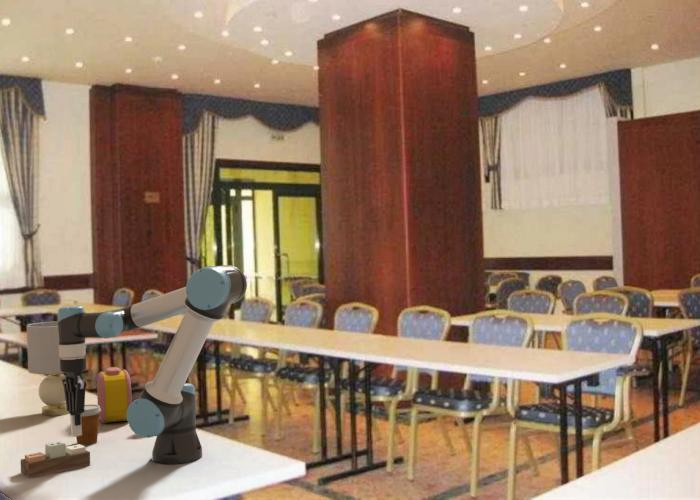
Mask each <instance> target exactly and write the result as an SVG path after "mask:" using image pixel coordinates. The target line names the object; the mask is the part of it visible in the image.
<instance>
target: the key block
mask: <svg viewBox="0 0 700 500" xmlns="http://www.w3.org/2000/svg"><path fill="white" fill-rule="evenodd" d="M88 466H91V453H90V451H88V450H87V449H86V452H83V453H78V454H73V455H69V454H67V453H66V456H63V457H58V458H53V459H49V458H47V457H46V454H45V460H43V461H38V462H33V463H28V462H26V461H25V458H21V459H20V474H22V473H23V474H24V476H25V477H26V478H29V479H31V478H36V477H43V476H46V475H51V474H54V473H56V474H57V473H59V472H63V471H65V472H66V471H69V470H74V469H79V468H85V467H88ZM23 474H22V475H23Z"/></svg>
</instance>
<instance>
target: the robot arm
mask: <svg viewBox="0 0 700 500" xmlns="http://www.w3.org/2000/svg"><path fill="white" fill-rule="evenodd" d="M247 282H248V281H247V277H246V276H245V274H244V272H243V271H242V270H241V269H240V268H238V267H236V266H234V265H229V264H223V265H216V266H214V265H213V266H212V265H208V266H205V267H201V268H199V269H197V270H196V271H194V272H193V273H192V274H191V275H190V277H189V278H188V280H187V283H186V286H184V287H181V288H178V289H175V290H172V291H169V292H166V293H164V294H161V295H158V296H155V297H152V298H149V299H146V300H143V301H140V302H137V303H134V304H131V305H128V306H125V307H122V308H118V309H112V310H105V311H101V312H99V311H98V312H85V310H84V309H85V308H84V306H81V305H71V306H62V307H59V309H58V310H57V320H56V321H57V323H58V331H59V357H60V358H62V359H61V360H60V371H61V372H65V376H66V378H65V379H62V382H63V386H64V393H65V400H66V407H67V411H69V415H70V418H69V419H70V432H71V433H70V436H71V437H76V436H80V435H82V424H81V414H82V413H83V412H84V406H85V405H86V404H85V403H86V388H87V382H86V381H84V380H83V379H84V378H83V374H82V371H85V370H86V369H87V358H86V353H87V352H86V351H87V350H86V349H87V348H88V346H87V344H86V339H87V338H91V339H92V338H93V339H94V338H96V339H97V338H98V339H99V338H100V339H102V338H104V339H109V338H110V339H111V338H117V337H119V336H120V334H124V333H129V332H130V333H131V332H134V331H135V330H138V329H140V328H142V327H147V326H149V325H151V324H154V323H158V322H161V321H164V320H166V319H167V320H168V319H170V318H173V317H177V316H179V315H182V314H184V315H183V317H182V319H181V321H180V323H179V326H178V328H177V330H176V332H175V334H174V336H173V338H172V340H171V343H170V344H169V347H168V349H167V350H166V353H165V355H164V357H163V358H162V361H161V363H160V365H159V367H158V370H157V372H156V374H155V376H154V378H153V380H151V381H148V382H146V383H145V384H144V387H143V389H142V391H141V392H140V395H139V397H138V398H136V399H134V400H132V403H131V404H130V405H129V407H128V409H127V421H126V422H128V426H129V429H131V431H132V432H133V433H134V434H135V435H137V436H139V437H141V438H144V439H150V438H153V437H156V438H155V441H154V445H153V448H152V454H151V457H152V459H151V460H152V461H153V462H154V463H158V464H166V465H170V464H171V465H174V464H175V465H176V464H185V463H190V462H194V461H196V460H199V459H200V458H202V457H203V447H202V445H201V442H200V439H199V435H198V433H197V426H196V425H197V421H196V419H197V417H196V413H197V412H196V390H195V386H194V384H192V383H190V382H189V383H188V382H186V381H187V379H188V377H189V375H190V374H191V371H192V370H193V367H194V365H195V363H196V361H197V359H198V357H199V355H200V353H201V350H202V349H203V346H204V344H205V342H206V340H207V338H208V336H209V334H210V332H211V330H212V327H213V325H214V323H215V322H218V321H221V320H222V319H223V317H224V316H225V313H226V312H227V308H228V307H229V305H232V304H235V303H237V302H239V301H240V300H241V299H242V298H243V297H244V295H245V294H246V292H247V287H248V283H247Z"/></svg>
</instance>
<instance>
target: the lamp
mask: <svg viewBox="0 0 700 500" xmlns="http://www.w3.org/2000/svg"><path fill="white" fill-rule="evenodd" d="M57 321H58V320H56V321H43V322H35V323H29V324H27V325H26V341H27V345H26V346H27V367H28V370H27V371H28V373H30V374H33V375H34V374H35V375H47V376H46V377H45V378H43V379H42V381H41V382H40V383H39V387H38V396H39V399H40V400H41V402H42V403H43V404H44V406H42V407H41V415H42V416H45V417H57V416H63V415H70V413H69V411H67V407H66V400H65V393H64V386H63V382H62V379H65V378H66V375H65V374H66V372H61V371H60V360H61V359H62V358H60V357H59V331H58V323H57Z"/></svg>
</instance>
